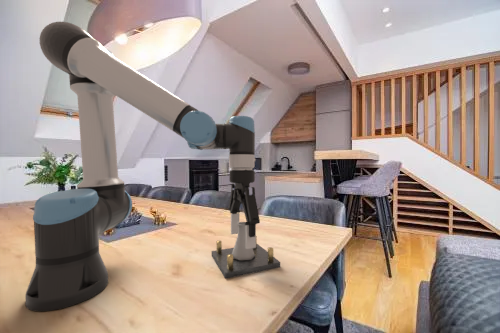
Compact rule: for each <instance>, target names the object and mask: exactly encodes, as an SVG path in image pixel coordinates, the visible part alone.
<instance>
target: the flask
mask: <svg viewBox="0 0 500 333" xmlns="http://www.w3.org/2000/svg"><path fill="white" fill-rule="evenodd" d="M246 222H247V221H239V223H238V226H239V230H238V234H237V237H236V240H235V243H234V247H233V248H234V249H233V252H232V254H233V259H237V260H251V259H252V258H253V257H255V254H254V251H253V248H250V249H246V225H245V223H246Z"/></svg>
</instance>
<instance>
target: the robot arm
mask: <svg viewBox="0 0 500 333" xmlns="http://www.w3.org/2000/svg"><path fill="white" fill-rule="evenodd" d="M39 46H40V49H41V52H42V54H43V55H44V57H45V58H46V59H47V60H48V61H49V63H51V64H52V65H53V66H54V67H56V68H57V69H59V70H61V71H62V72H65V73H66V74H68V76H69V77H68V78H69V87H70V88H69V89H70V90H71V91H72V92H73V93H75V94H76V96H77V105H78V109H77V110H78V121H79V135H80V136H79V137H80V138H79V139H80V151H81V166H82V180H81V182H79V184H77V185H76V188H73V189H67V190H60V191H59V190H58V191H54V192H51V193H47V194H45V195H43V196H40V197H39V198H38V199H37V200H36V201H35V203H34V209H33V210H34V211H33V212H34V213H33V215H32V219H33V220H32V221H33V226H34V227H33V228H34V230H33V231H34V248H35V249H34V251H35V252H34V253H35V267H34V270H33V272H32V275H31V278H30V281H29V284H28V286H27V289H26V292H25V297H24V298H25V299H24V300H25V307H26V309H28V310H30V311H34V312H50V311H56V310H61V309H64V308H68V307H72V306H74V305H77V304H80V303H83V302H85V301H88V300H90V299H91V298H93V297H95V296H96V295H98V294H100V293H101V292H102V291H103V290H105V289H106V287H107V286H108V284H109V272H108V270H107V267H106V265H105V263H104V260H103V258H102V256H101V253H100V243H99V242H100V238H99V237H100V236H99V235H100V234H103V233H104V232H107V231H109V230H110V229H113V228H116V227H118V226H119V225H121V224H122V223H123V222H125V220H127V219H128V218H129V216H130V214H131V212H132V209H133V200H132V197H131V195H130V194H129V193H128V192H127V190H126V188H125V181H123V180H122V179H121V178H120V177H119V171H118V156H117V155H118V154H117V142H116V127H115V111H114V98H115V97H117V98H119V99H120V100H123V101H124V102H126V103H127V104H129V105H130V106H132V107H134V108H136V110H138V111H140V112H142V113H143V114H145V115H146V116H148V117H149V118H151V119H153V120H155V121H156V122H157V123H159V124H161V125H162V126H164V127H165V128H167V129H169V130H170V131H172V132H174V133H175V134H176V135H178V136H180V137H181V138H183V139H184V140H185V141H186V142H187V145H188V147H189V148H190V149H192V150H200V151H202V150H229V154H228V155H229V156H228V159H229V160H228V161H229V163H228V164H229V165H228V167H229V169H230V170H229V182H230V183H231V185H230V186H231V188H230V189H231V190H230V197H229V201H228V202H229V203H228V211H229V213H230V235H238V230H239V226H238V223H239V222H240V213H241V211H240V208H241V206H242V208H243V214H244V216H245V222H246V223H245V225H246V249H250V248H256V236H257V232H256V231H257V229H256V228H257V225H258V224H260V223H261V221H260V215H259V209H258V204H257V199H256V188H255V187H254V186H253V187H251V184H252V183H255V178H256V175H255V174H256V172H255V170H254V168H255V162H256V160H257V159H256V158H255V148H256V147H255V146H256V140H255V137H256V134H255V133H256V131H255V129H256V128H255V120H254V119H253V118H252V117H251V116H247V115H235V116H231V117H230V118H229V120H228V123H216V122H215V120H214V119H213V117H211V116H210V115H209V114H208V113H206V112H205V111H201V110H198V109H197V108H195V107H193V106H192V105H190V104H189V103H188V102H186V101H184V100H183V99H181V98H180V97H179V96H177V95H175V94H174V93H171V91H169V90H167V89H165V88H164V87H162V86H161V85H159V84H158V83H156V82H155V81H153V80H151V79H150V78H148V77H147V76H145V75H144V74H142V73H140V72H139V71H137V70H136V69H134V68H133V67H131V66H130V65H128V64H126V63H125V62H123V61H121V60H120V59H118V58H117V56H115V54H114V53H112V51H110V50H109V49H107V48H106V47H105V46H103V45H102V44H101V43H100V42H99V40H96V39H95V38H94V37H93V36H92V35H90V34H89V32H87V31H86V30H85V29H83V28H82V27H80V26H78V25H76V24H75V23H74V24H73V23H72V22H68V21H55V22H50V23H49V24H47V25H45V27H43V29H42V30H41V32H40V33H39Z"/></svg>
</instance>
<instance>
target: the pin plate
mask: <svg viewBox="0 0 500 333" xmlns="http://www.w3.org/2000/svg"><path fill="white" fill-rule="evenodd" d="M257 241H258V239H257V235H256V248H253V251H254V254H255V257H253V258H252V259H251V260H237V259H233V254H232V252H233V249H234V247H230V248H223V249H222V246H223V243H222V242H223V241H222V240H220V239H219V240H216V250H211V257H212V259H213V261H214V263H215V264H216V266H217V267H218V269H219V271H220V272H221V274H222V276H223V278H224V279H225V280H227V279H231V278H235V277H241V276H247V275H250V274H255V273H261V272H265V271H269V270H274V269H280V268H281V261H280V260H278V259H277V258H276V257H275V256H274V247H267V249H265V248H263V247H262V246H261V245H260V244H258V243H257Z"/></svg>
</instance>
